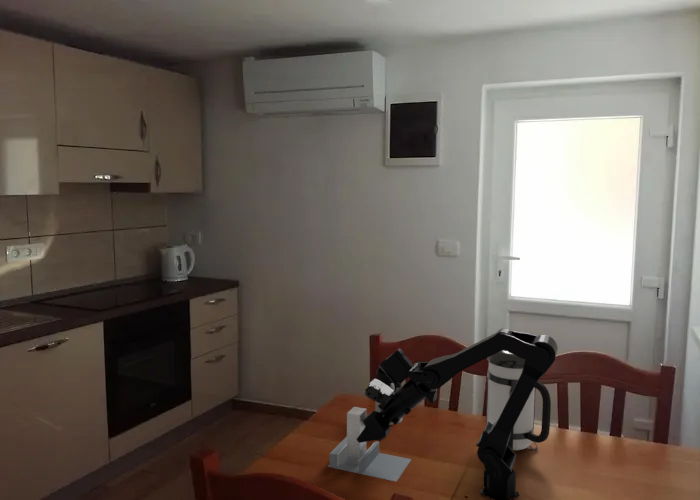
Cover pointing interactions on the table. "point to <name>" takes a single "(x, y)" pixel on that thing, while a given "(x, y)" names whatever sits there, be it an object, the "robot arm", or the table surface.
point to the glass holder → (385, 379)
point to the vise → (370, 462)
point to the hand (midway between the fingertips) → (364, 433)
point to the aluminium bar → (355, 434)
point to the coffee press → (499, 389)
